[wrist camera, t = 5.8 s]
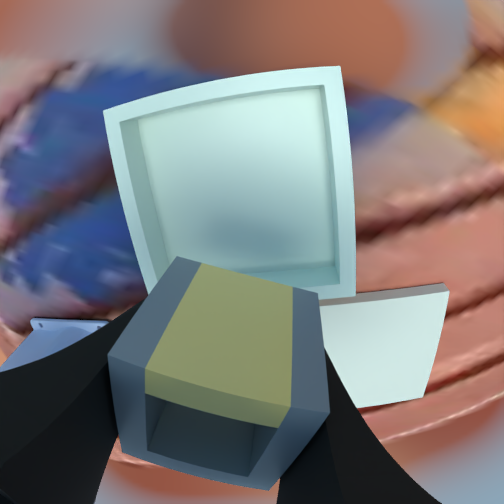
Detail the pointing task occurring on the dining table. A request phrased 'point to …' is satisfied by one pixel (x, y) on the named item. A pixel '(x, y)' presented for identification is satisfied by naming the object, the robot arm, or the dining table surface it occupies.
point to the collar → (220, 375)
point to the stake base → (384, 341)
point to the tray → (242, 178)
